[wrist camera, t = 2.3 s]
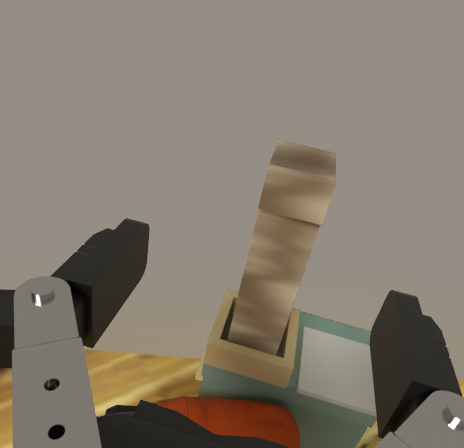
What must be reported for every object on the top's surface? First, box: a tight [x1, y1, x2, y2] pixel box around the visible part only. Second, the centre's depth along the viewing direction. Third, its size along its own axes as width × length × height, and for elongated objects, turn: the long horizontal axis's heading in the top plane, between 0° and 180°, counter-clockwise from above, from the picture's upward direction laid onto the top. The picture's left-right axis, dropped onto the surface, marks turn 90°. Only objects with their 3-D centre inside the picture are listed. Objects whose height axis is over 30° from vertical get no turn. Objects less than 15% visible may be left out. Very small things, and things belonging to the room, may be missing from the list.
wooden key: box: [227, 140, 336, 356], centre depth 27 cm, size 4×5×15 cm
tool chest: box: [195, 289, 377, 448], centre depth 34 cm, size 14×8×16 cm, turn 77°
